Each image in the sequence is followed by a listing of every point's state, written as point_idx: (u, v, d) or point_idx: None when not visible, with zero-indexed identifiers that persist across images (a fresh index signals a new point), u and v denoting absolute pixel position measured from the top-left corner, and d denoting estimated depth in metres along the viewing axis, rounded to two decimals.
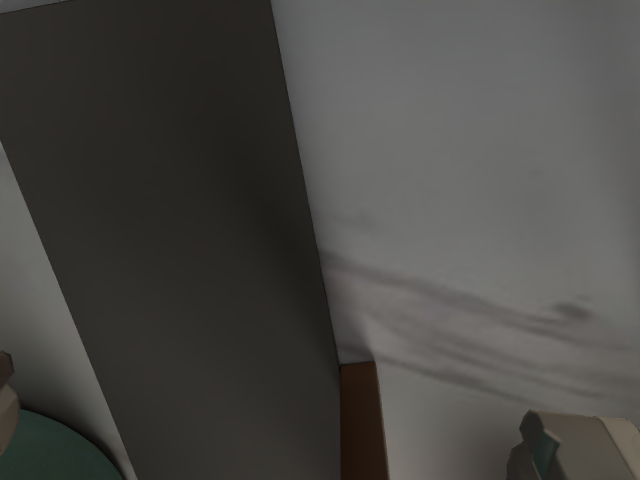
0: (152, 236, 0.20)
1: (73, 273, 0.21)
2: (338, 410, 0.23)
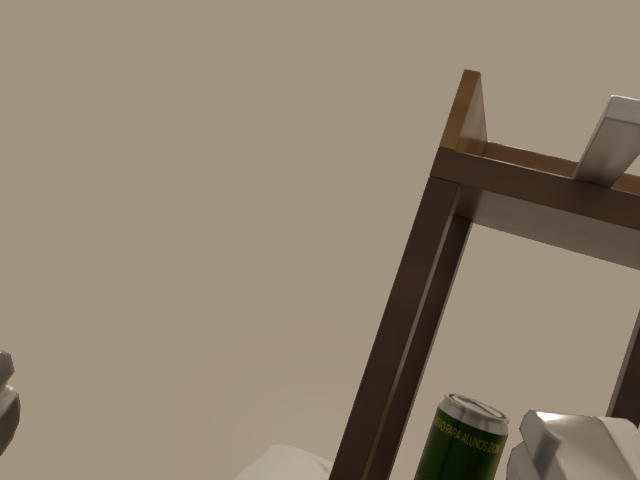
0: None
1: None
2: None
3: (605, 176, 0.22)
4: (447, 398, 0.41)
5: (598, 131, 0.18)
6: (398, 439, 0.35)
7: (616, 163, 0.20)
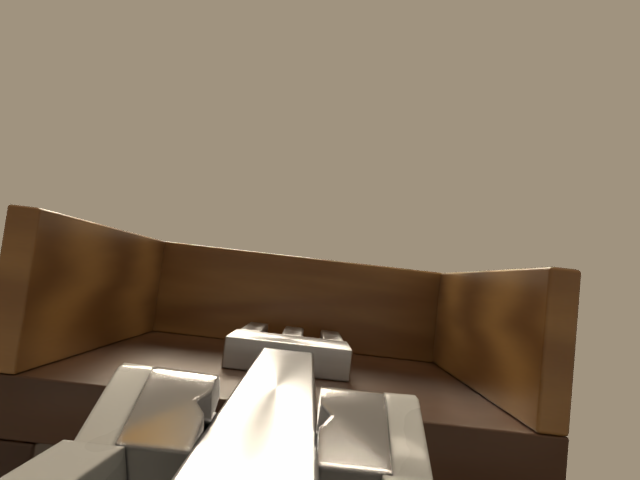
0: None
1: None
2: None
3: None
4: None
5: None
6: None
7: None
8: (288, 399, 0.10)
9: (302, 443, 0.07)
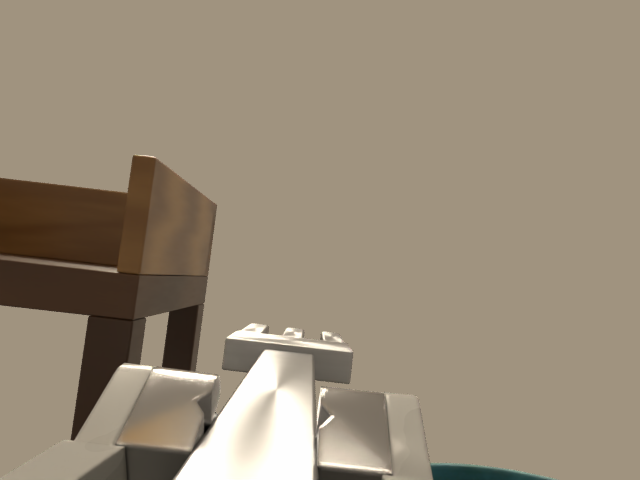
0: None
1: None
2: None
3: None
4: None
5: None
6: None
7: None
8: (288, 401, 0.10)
9: (302, 447, 0.07)
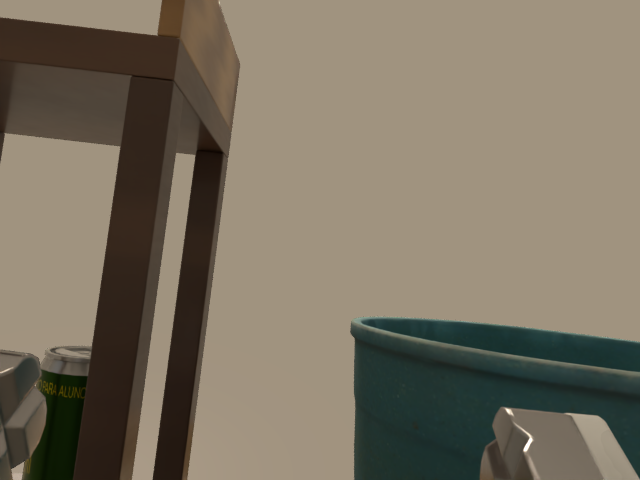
0: None
1: None
2: None
3: None
4: (45, 352, 0.34)
5: None
6: None
7: None
8: None
9: None
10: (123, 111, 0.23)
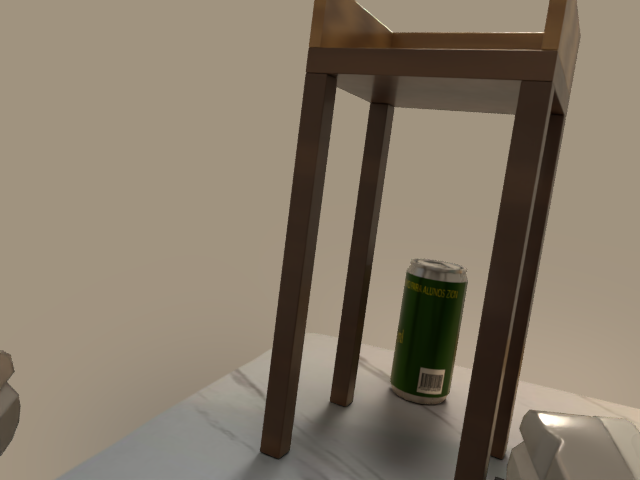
0: None
1: None
2: None
3: None
4: (411, 261, 0.48)
5: None
6: (360, 296, 0.43)
7: None
8: None
9: None
10: (498, 95, 0.32)
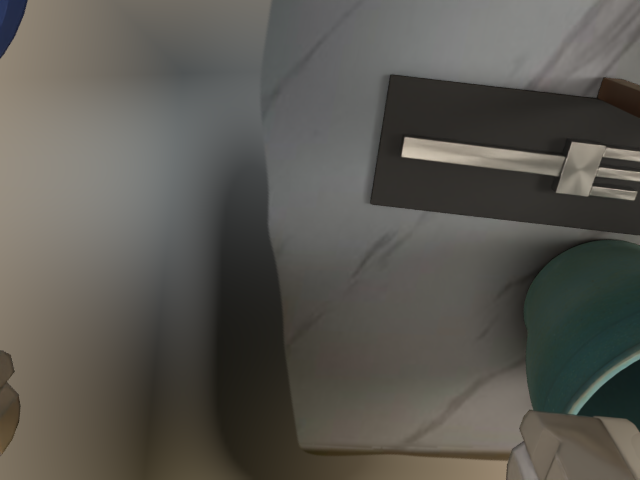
0: None
1: (486, 208, 0.43)
2: None
3: None
4: None
5: (421, 136, 0.41)
6: None
7: None
8: (468, 159, 0.40)
9: (433, 158, 0.41)
10: None
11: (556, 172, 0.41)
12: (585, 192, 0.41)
